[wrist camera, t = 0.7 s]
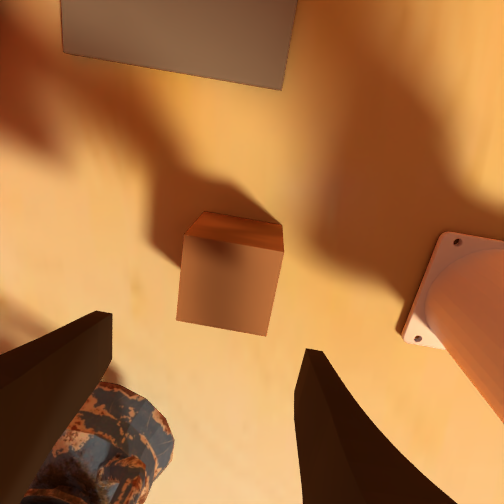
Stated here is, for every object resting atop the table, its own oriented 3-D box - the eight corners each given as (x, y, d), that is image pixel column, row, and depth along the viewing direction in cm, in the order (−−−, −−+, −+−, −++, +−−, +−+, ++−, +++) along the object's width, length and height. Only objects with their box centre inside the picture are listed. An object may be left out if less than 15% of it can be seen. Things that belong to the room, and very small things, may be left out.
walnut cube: (282, 224, 21) (283, 252, 16) (268, 293, 22) (266, 336, 18) (204, 210, 21) (183, 234, 16) (196, 280, 22) (176, 320, 18)
